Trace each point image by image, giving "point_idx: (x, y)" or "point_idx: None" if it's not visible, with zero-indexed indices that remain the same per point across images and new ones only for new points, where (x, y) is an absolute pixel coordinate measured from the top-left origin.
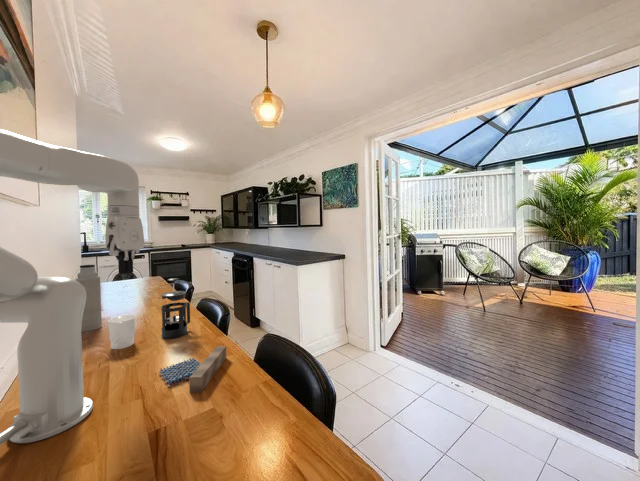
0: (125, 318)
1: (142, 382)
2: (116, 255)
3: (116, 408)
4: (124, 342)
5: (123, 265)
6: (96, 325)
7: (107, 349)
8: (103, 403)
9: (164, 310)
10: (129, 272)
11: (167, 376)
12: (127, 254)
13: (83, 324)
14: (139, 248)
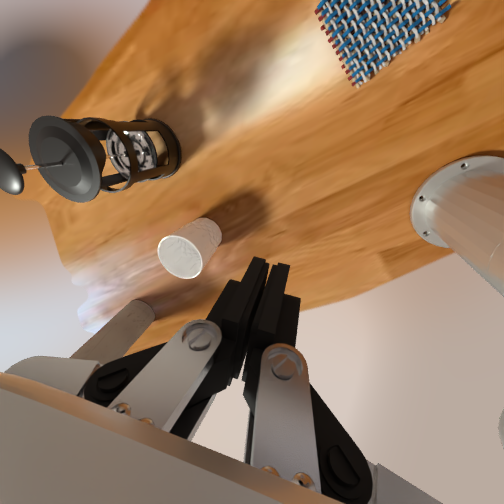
0: (164, 256)
1: (384, 110)
2: (398, 480)
3: (480, 111)
4: (213, 228)
5: (295, 331)
6: (139, 305)
7: (220, 250)
8: (441, 150)
9: (134, 173)
10: (289, 266)
11: (411, 36)
12: (268, 411)
13: (146, 321)
14: (47, 403)
